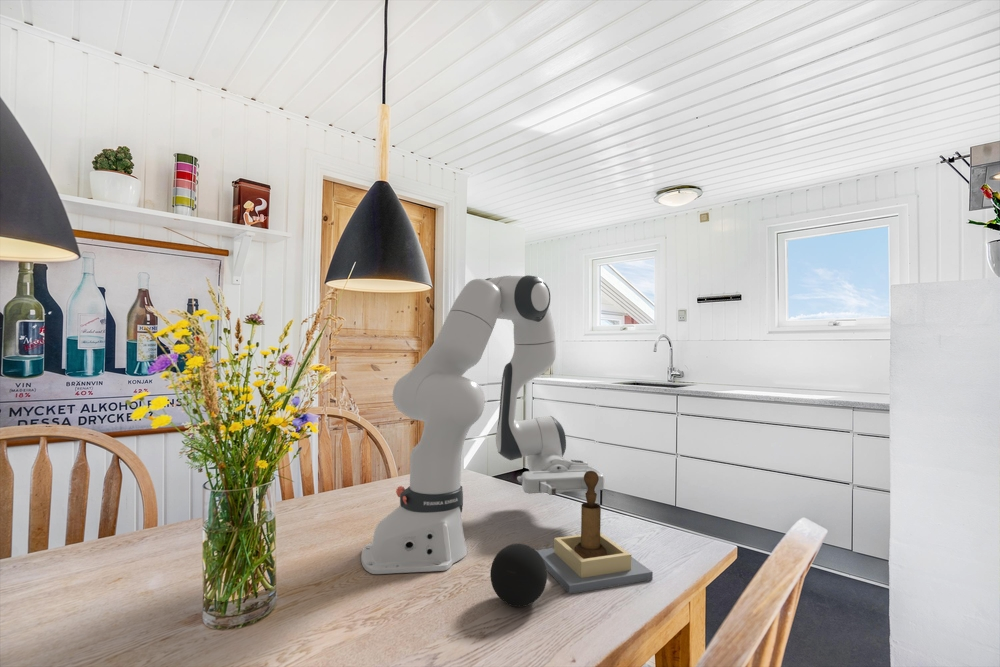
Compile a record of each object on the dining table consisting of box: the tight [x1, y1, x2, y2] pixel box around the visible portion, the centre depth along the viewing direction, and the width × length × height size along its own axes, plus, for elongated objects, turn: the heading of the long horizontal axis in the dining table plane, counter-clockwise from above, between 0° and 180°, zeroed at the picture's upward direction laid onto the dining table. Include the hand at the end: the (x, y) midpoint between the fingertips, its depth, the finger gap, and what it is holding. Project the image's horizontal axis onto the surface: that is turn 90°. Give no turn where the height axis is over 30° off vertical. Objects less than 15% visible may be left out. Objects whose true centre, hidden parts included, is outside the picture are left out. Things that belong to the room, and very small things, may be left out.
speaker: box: [490, 543, 548, 608], centre depth 87 cm, size 10×10×10 cm
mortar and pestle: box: [574, 471, 607, 559], centre depth 101 cm, size 7×6×18 cm
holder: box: [535, 532, 654, 595], centre depth 100 cm, size 18×16×4 cm
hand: (572, 490), depth 113 cm, fingers open, 8 cm apart
